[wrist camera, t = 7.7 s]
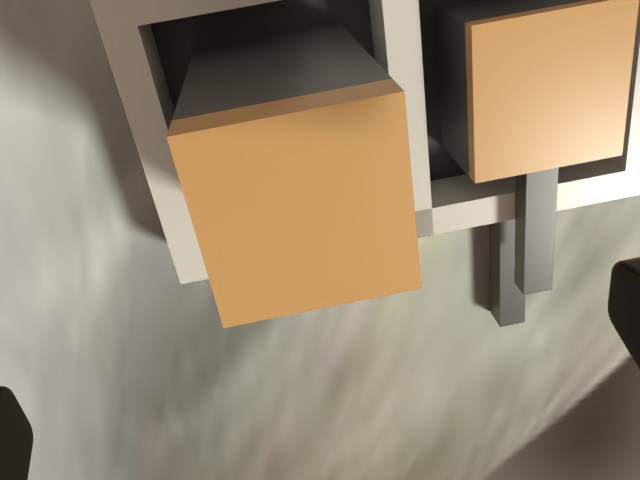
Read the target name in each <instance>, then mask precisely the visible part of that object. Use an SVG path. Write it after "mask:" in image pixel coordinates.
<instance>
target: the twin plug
mask: <svg viewBox="0 0 640 480" xmlns="http://www.w3.org/2000/svg"><path fill="white" fill-rule="evenodd" d="M638 6H639V0H476V1H470V2H465V3H459V4H454V5H448V6H443V7H437V8H434V9H435V28H436V47H437V66H438V85H439V105H440V124H441V143H442V147H443V148H444V149H445V150H446V151H447V152H448V153H449V154H450V156H451V157H452V158H453V159H454V160H455V161H456V162H457V164H458V165H459V166H460V167H461V168H462V169H463V170H464V171H465V173H466V174H467V175H468V176H469V177H470V178H471V179H472V181H473V182H474V183H481V182H486V181H491V180H496V179H501V178H507V177H512V176H516V198H515V219H513V220H508V221H503V222H497V223H492V224H490V286H491V313H492V315H493V316H494V318H495V320H496V321H497V323H498V324H499V326H500V327H502V326H507V325H512V324H517V323H522V322H525V295H527V294H532V293H537V292H542V291H547V290H552V284H553V265H554V246H555V227H556V208H557V189H558V170H559V167H564V166H569V165H574V164H579V163H585V162H590V161H595V160H600V159H605V158H611V157H616V156H621V155H622V153H623V144H624V134H625V125H626V116H627V107H628V98H629V89H630V79H631V70H632V61H633V52H634V43H635V34H636V24H637V15H638Z"/></svg>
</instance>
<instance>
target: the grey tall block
mask: <svg viewBox="0 0 640 480" xmlns="http://www.w3.org/2000/svg"><path fill="white" fill-rule="evenodd" d="M167 140H168V144H169V147H170V150H171V154H172V157H173V160H174V164H175V167H176V170H177V174H178V177H179V180H180V184H181V187H182V190H183V194H184V197H185V200H186V204H187V207H188V210H189V214H190V217H191V220H192V224H193V227H194V230H195V234H196V237H197V241H198V244H199V247H200V251H201V254H202V257H203V261H204V264H205V267H206V271H207V274H208V277H209V281H210V284H211V287H212V291H213V294H214V297H215V301H216V304H217V307H218V311H219V314H220V317H221V321H222V324H223V327H224V328H227V327H231V326H236V325H241V324H246V323H251V322H256V321H261V320H266V319H271V318H276V317H281V316H286V315H291V314H296V313H301V312H306V311H311V310H316V309H321V308H326V307H331V306H336V305H341V304H345V303H350V302H355V301H360V300H365V299H370V298H375V297H380V296H385V295H390V294H395V293H400V292H405V291H410V290H415V289H420V288H422V287H421V275H420V264H419V252H418V241H417V229H416V217H415V206H414V194H413V182H412V171H411V159H410V147H409V136H408V124H407V113H406V101H405V91H404V90H403V89H402V88H401V87H400V86H399V85H398V84H397V83H396V82H395V81H394V80H393V78H392V77H391V76H390V75H389V74H388V73H387V72H386V71H385V70H384V69H383V68H382V67H381V66H380V65H379V64H378V63H377V62H376V60H375V59H374V58H373V57H372V56H371V55H370V54H369V53H368V52H367V51H366V50H365V49H364V48H363V47H362V46H361V45H360V44H359V42H358V41H357V40H356V39H355V38H354V37H353V36H352V35H351V34H350V33H349V32H348V31H347V30H346V29H345V28H344V27H343V26H342V24H341V23H337V24H331V25H326V26H321V27H315V28H310V29H305V30H299V31H294V32H289V33H283V34H278V35H273V36H267V37H262V38H257V39H251V40H246V41H241V42H235V43H230V44H224V45H219V46H214V47H208V48H203V49H198V50H194V52H193V55H192V58H191V61H190V64H189V67H188V71H187V74H186V77H185V80H184V83H183V86H182V90H181V93H180V96H179V99H178V102H177V105H176V108H175V112H174V115H173V118H172V121H171V124H170V127H169V131H168V134H167Z"/></svg>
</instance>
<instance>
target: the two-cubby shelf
mask: <svg viewBox="0 0 640 480" xmlns="http://www.w3.org/2000/svg"><path fill="white" fill-rule="evenodd" d="M470 1H476V0H89V2H90V5H91V8H92V11H93V14H94V17H95V20H96V23H97V27H98V30H99V33H100V36H101V39H102V42H103V45H104V48H105V51H106V54H107V57H108V61H109V64H110V67H111V70H112V73H113V76H114V79H115V82H116V85H117V88H118V92H119V95H120V98H121V101H122V104H123V107H124V110H125V113H126V116H127V119H128V122H129V126H130V129H131V132H132V135H133V138H134V141H135V144H136V147H137V150H138V153H139V156H140V160H141V163H142V166H143V169H144V172H145V175H146V178H147V181H148V184H149V187H150V191H151V194H152V197H153V200H154V203H155V206H156V209H157V212H158V215H159V218H160V221H161V225H162V228H163V231H164V234H165V237H166V240H167V243H168V246H169V249H170V252H171V255H172V259H173V262H174V265H175V268H176V271H177V274H178V277H179V280H180V283H181V284H184V283H189V282H194V281H200V280H205V279H209V277H208V274H207V271H206V267H205V264H204V261H203V257H202V254H201V251H200V247H199V244H198V241H197V237H196V234H195V230H194V227H193V224H192V220H191V217H190V214H189V210H188V207H187V204H186V200H185V197H184V194H183V190H182V187H181V184H180V180H179V177H178V174H177V170H176V167H175V164H174V160H173V157H172V154H171V150H170V147H169V144H168V140H167V134H168V131H169V127H170V124H171V121H172V118H173V115H174V112H175V108H176V105H177V102H178V99H179V96H180V93H181V90H182V86H183V83H184V80H185V77H186V74H187V71H188V67H189V64H190V61H191V58H192V55H193V52H194V50H198V49H203V48H208V47H214V46H219V45H224V44H230V43H235V42H241V41H246V40H251V39H257V38H262V37H267V36H273V35H278V34H283V33H289V32H294V31H299V30H305V29H310V28H315V27H321V26H326V25H331V24H337V23H341V24H342V26H343V27H344V28H345V29H346V30H347V31H348V32H349V33H350V34H351V35H352V36H353V37H354V38H355V39H356V40H357V41H358V42H359V44H360V45H361V46H362V47H363V48H364V49H365V50H366V51H367V52H368V53H369V54H370V55H371V56H372V57H373V58H374V59H375V60H376V62H377V63H378V64H379V65H380V66H381V67H382V68H383V69H384V70H385V71H386V72H387V73H388V74H389V75H390V76H391V77H392V78H393V80H394V81H395V82H396V83H397V84H398V85H399V86H400V87H401V88H402V89H403V90H404V91H405V101H406V113H407V124H408V136H409V147H410V159H411V171H412V182H413V194H414V206H415V217H416V229H417V238H420V237H426V236H431V235H436V234H441V233H446V232H451V231H456V230H461V229H467V228H472V227H477V226H482V225H487V224H492V223H497V222H503V221H508V220H513V219H515V198H516V176H512V177H507V178H501V179H496V180H491V181H486V182H481V183H474V182H473V181H472V179H471V178H470V177H469V176H468V175H467V174H466V173H465V171H464V170H463V169H462V168H461V167H460V166H459V165H458V164H457V162H456V161H455V160H454V159H453V158H452V157H451V156H450V154H449V153H448V152H447V151H446V150H445V149H444V148H443V147H442V143H441V124H440V105H439V85H438V66H437V47H436V28H435V9H434V8H437V7H443V6H448V5H454V4H459V3H465V2H470ZM636 195H640V0H639V6H638V15H637V24H636V34H635V43H634V52H633V61H632V70H631V79H630V89H629V98H628V107H627V116H626V125H625V134H624V144H623V153H622V155H621V156H616V157H611V158H605V159H600V160H595V161H590V162H585V163H579V164H574V165H569V166H564V167H559V170H558V189H557V208H556V211H559V210H564V209H569V208H574V207H580V206H585V205H590V204H595V203H600V202H605V201H610V200H616V199H621V198H626V197H631V196H636Z"/></svg>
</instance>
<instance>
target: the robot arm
mask: <svg viewBox="0 0 640 480" xmlns="http://www.w3.org/2000/svg"><path fill="white" fill-rule="evenodd" d="M608 313H609V317H610V320H611V322H612V324H613V326H614V327H615V329H616V331H617V332H618V334H619V336H620V338H621V339H622V341H623V343H624V344H625V346H626V348H627V349H628V351H629V353H630V355H631V356H632V358H633V360H634V361H635V363H636V365H637V366H638V368H639V370H640V257H638V258H633V259H628V260H623V261H619V262H617V263H616V264H615V265H614V266H613V268H612V272H611V281H610V290H609V299H608ZM32 446H33V432H32V428H31V425H30V423H29V421H28V419H27V417H26V415H25V414H24V412H23V410H22V408H21V406H20V405H19V403H18V401H17V399H16V397H15V396H14V394H13V392H12V391H11V390H10V389H9V388H7V387H4V386H0V480H27V479H28V472H29V466H30V459H31V452H32Z"/></svg>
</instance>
